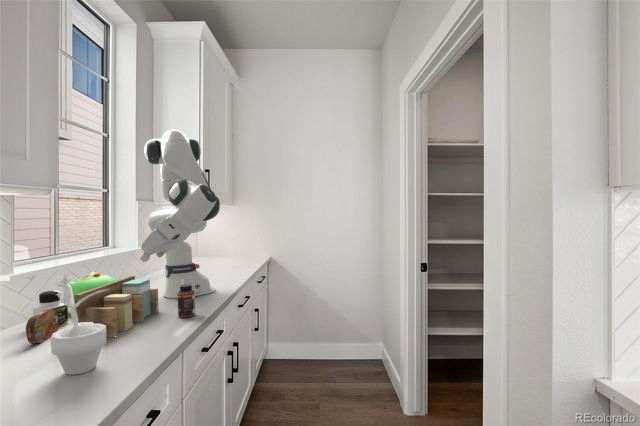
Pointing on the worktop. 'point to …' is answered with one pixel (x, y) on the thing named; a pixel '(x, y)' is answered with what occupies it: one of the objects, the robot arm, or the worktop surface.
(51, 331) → the tin
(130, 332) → the worktop surface
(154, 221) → the robot arm
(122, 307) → the book box
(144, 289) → the teal tall rectangular block
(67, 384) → the worktop surface
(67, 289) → the potted plant
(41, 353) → the worktop surface
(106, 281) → the toy bird
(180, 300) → the supplement bottle
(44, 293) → the medicine bottle
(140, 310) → the pantry shelf
